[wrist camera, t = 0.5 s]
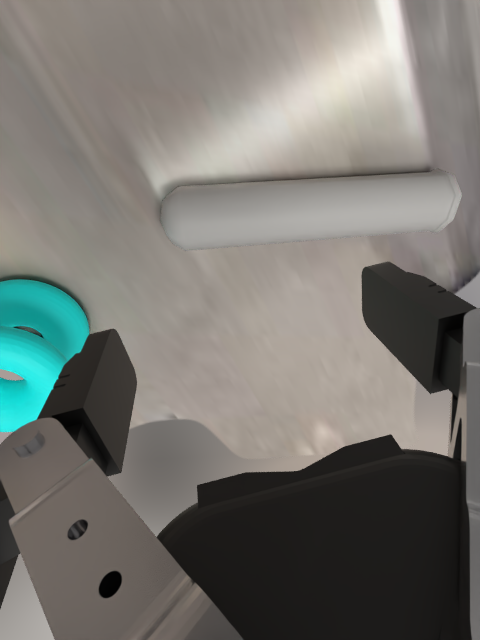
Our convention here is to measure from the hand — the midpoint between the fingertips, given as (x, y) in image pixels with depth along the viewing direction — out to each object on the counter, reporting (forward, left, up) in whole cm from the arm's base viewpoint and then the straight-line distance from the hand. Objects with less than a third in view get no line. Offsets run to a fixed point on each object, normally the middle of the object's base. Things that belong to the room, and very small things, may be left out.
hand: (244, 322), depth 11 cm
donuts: (+12, -17, -22) cm, 30 cm away
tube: (+3, +9, -22) cm, 24 cm away
